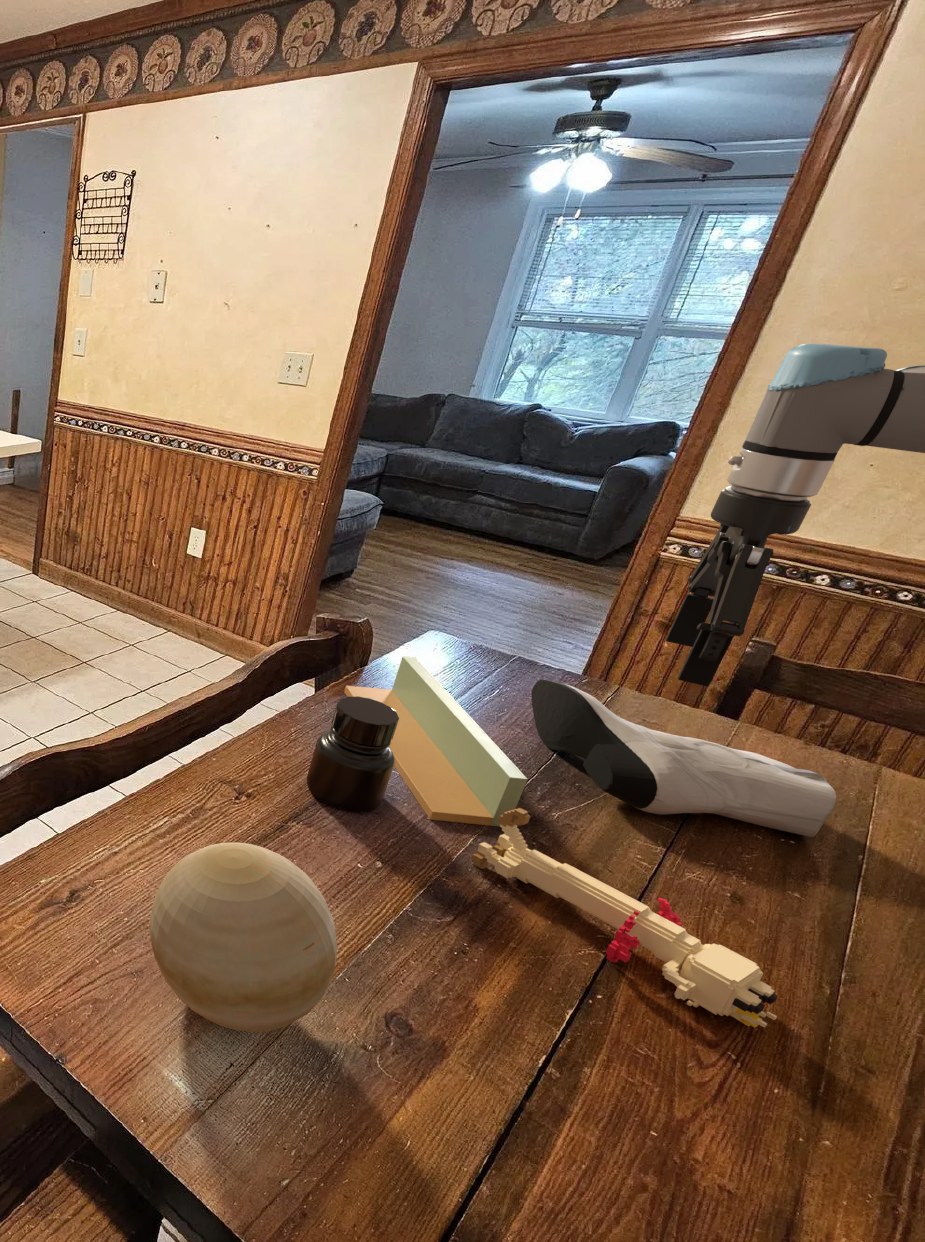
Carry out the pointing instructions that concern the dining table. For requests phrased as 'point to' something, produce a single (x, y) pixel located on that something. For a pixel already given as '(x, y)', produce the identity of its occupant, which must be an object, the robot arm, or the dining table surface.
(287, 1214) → the dining table surface
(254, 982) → the decorative ball
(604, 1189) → the dining table surface
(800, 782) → the grey boot
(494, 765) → the wall shelf
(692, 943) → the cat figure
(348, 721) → the ink bottle
